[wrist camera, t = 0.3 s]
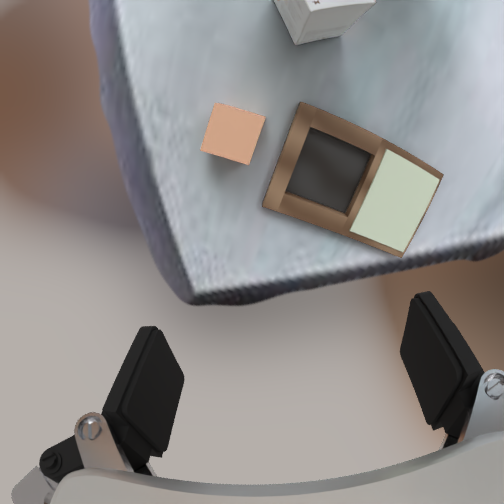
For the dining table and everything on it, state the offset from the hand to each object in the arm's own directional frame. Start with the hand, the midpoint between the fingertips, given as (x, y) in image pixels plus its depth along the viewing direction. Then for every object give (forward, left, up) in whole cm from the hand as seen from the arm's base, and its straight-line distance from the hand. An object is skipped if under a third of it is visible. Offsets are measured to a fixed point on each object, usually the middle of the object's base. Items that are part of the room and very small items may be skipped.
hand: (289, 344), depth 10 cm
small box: (-22, -3, -29) cm, 36 cm away
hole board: (-3, +11, -28) cm, 31 cm away
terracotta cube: (-4, -6, -29) cm, 29 cm away
